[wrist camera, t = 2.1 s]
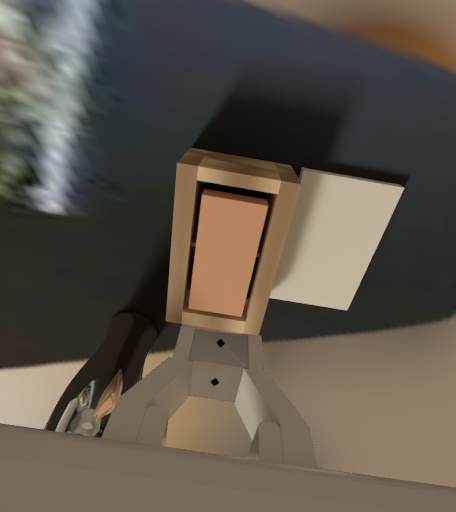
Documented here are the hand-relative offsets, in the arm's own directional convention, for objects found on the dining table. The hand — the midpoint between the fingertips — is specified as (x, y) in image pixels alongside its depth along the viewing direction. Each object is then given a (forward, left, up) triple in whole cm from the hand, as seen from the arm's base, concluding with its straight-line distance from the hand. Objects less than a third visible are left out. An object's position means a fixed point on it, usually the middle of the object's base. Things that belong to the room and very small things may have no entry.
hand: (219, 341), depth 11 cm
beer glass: (-9, -20, -19) cm, 29 cm away
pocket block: (0, -4, -19) cm, 20 cm away
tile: (0, -4, -15) cm, 15 cm away
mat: (+10, -4, -19) cm, 22 cm away
